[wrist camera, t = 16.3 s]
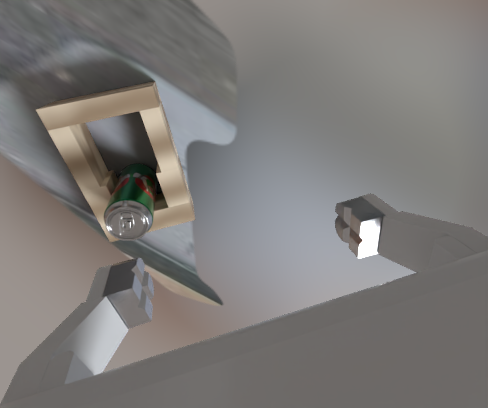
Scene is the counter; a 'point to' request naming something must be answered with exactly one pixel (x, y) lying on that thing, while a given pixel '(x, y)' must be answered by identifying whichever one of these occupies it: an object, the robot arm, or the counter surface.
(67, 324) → the robot arm
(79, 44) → the counter surface
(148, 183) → the soda can
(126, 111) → the keyhole board
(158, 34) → the counter surface
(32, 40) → the counter surface
